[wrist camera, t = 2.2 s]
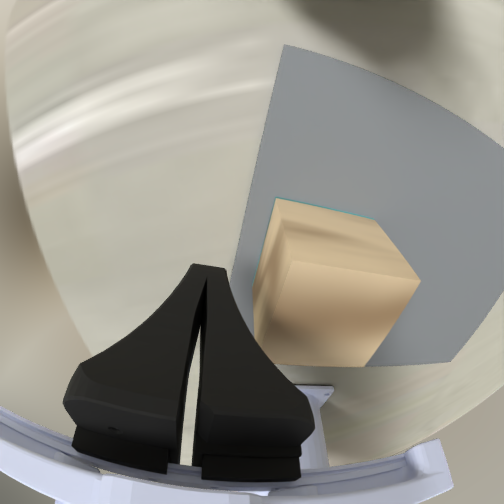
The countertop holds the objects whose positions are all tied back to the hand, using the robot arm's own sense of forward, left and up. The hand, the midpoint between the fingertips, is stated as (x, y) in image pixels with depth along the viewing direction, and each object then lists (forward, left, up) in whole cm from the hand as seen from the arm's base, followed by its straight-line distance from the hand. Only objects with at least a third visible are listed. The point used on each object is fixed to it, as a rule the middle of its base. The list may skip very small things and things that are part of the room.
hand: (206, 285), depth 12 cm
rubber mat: (0, -13, -4) cm, 14 cm away
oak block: (0, -5, -4) cm, 7 cm away
